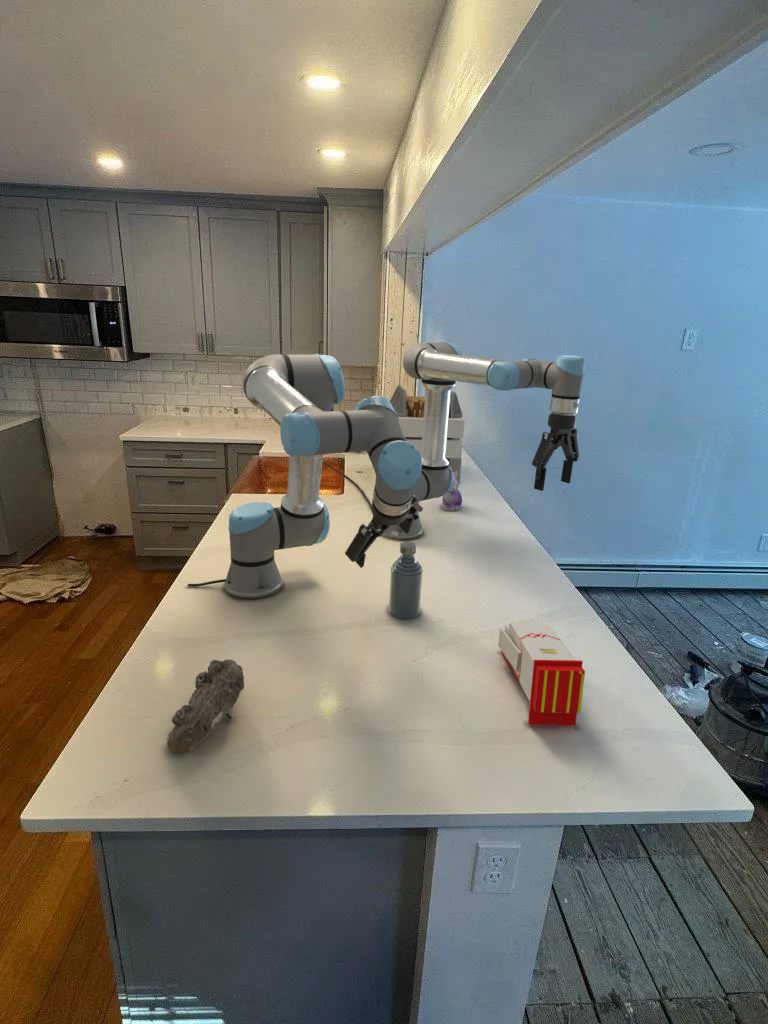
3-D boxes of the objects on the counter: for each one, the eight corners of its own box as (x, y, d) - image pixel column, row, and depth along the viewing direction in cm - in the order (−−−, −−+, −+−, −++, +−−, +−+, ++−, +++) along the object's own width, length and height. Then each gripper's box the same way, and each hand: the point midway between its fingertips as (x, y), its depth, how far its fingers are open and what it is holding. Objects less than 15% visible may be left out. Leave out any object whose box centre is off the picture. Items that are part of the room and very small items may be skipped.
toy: (544, 607, 134) (594, 667, 105) (539, 659, 137) (586, 732, 108) (493, 606, 134) (529, 666, 105) (489, 658, 137) (523, 731, 107)
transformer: (382, 463, 289) (386, 382, 275) (445, 464, 293) (451, 384, 279) (390, 482, 257) (394, 392, 243) (460, 483, 261) (468, 394, 247)
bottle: (389, 602, 153) (392, 538, 147) (419, 603, 153) (424, 540, 147) (388, 617, 146) (391, 551, 139) (419, 619, 145) (424, 553, 139)
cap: (400, 548, 146) (400, 540, 145) (415, 549, 145) (416, 541, 145) (399, 554, 142) (400, 547, 141) (415, 555, 142) (416, 548, 141)
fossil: (192, 660, 117) (244, 628, 112) (224, 691, 120) (276, 661, 115) (142, 746, 98) (202, 712, 93) (182, 779, 101) (242, 748, 96)
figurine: (448, 512, 222) (451, 476, 217) (434, 504, 231) (437, 469, 226) (468, 509, 227) (471, 473, 222) (453, 502, 235) (457, 467, 230)
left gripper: (354, 550, 104) (349, 590, 123) (451, 480, 113) (432, 526, 132) (329, 521, 106) (327, 565, 125) (425, 454, 115) (411, 504, 134)
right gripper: (548, 419, 148) (537, 496, 155) (598, 411, 163) (586, 482, 171) (525, 414, 153) (515, 489, 160) (575, 407, 169) (564, 476, 176)
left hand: (381, 545), depth 128 cm, fingers open, 13 cm apart
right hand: (552, 485), depth 166 cm, fingers open, 13 cm apart
